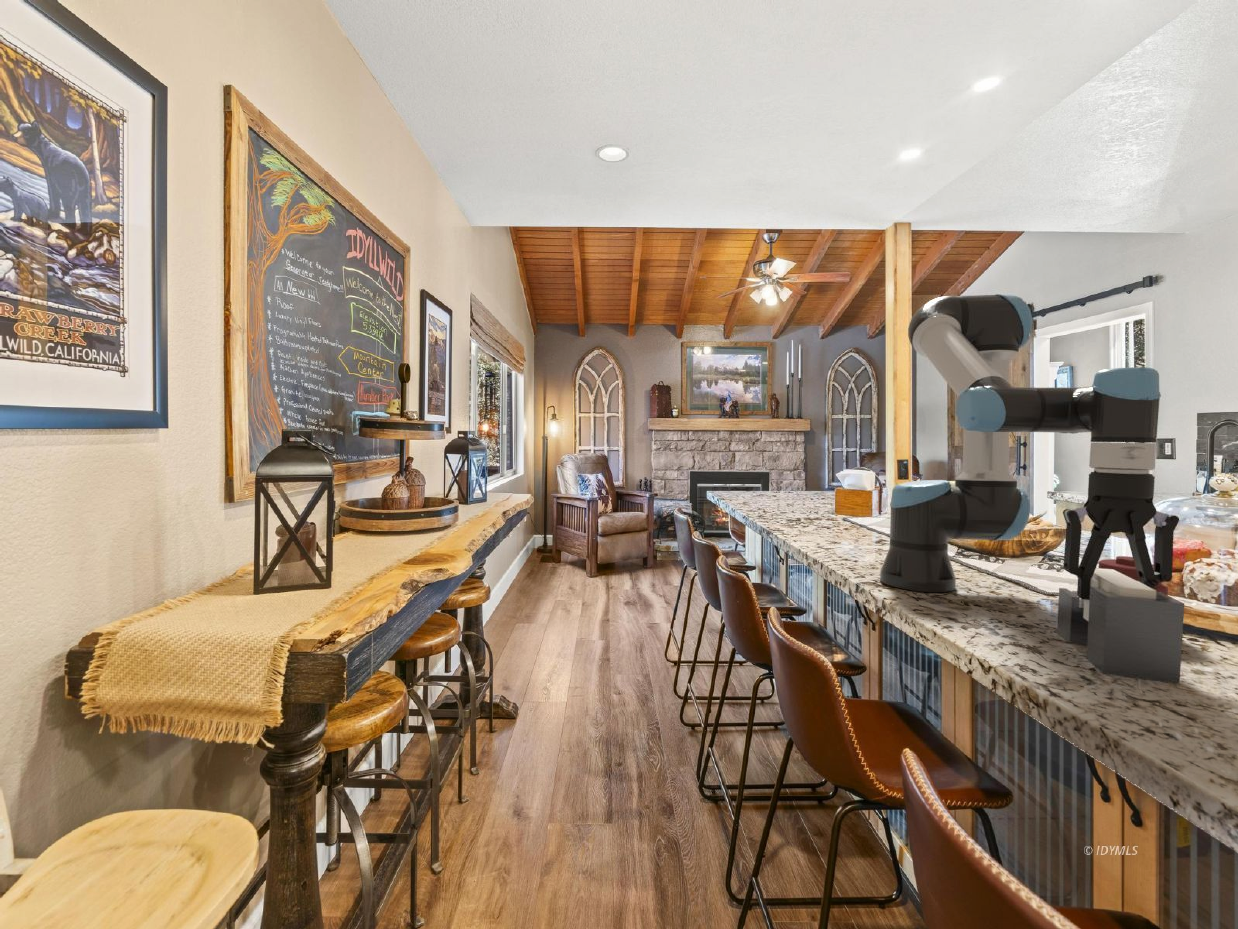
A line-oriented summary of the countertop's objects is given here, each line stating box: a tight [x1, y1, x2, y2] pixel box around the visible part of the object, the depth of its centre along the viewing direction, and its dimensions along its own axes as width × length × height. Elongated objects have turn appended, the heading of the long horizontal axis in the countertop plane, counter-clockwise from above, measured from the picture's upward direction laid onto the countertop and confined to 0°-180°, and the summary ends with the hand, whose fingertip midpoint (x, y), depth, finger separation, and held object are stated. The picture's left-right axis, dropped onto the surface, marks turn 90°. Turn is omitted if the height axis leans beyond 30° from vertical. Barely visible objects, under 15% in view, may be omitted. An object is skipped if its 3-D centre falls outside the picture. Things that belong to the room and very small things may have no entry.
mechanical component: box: [1098, 555, 1169, 596], centre depth 101 cm, size 12×10×10 cm
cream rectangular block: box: [1080, 567, 1156, 605], centre depth 88 cm, size 14×4×6 cm, turn 158°
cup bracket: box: [1086, 586, 1185, 684], centre depth 82 cm, size 6×8×11 cm
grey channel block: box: [1056, 587, 1088, 646], centre depth 95 cm, size 6×8×8 cm
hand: (1112, 622), depth 88 cm, fingers open, 5 cm apart
